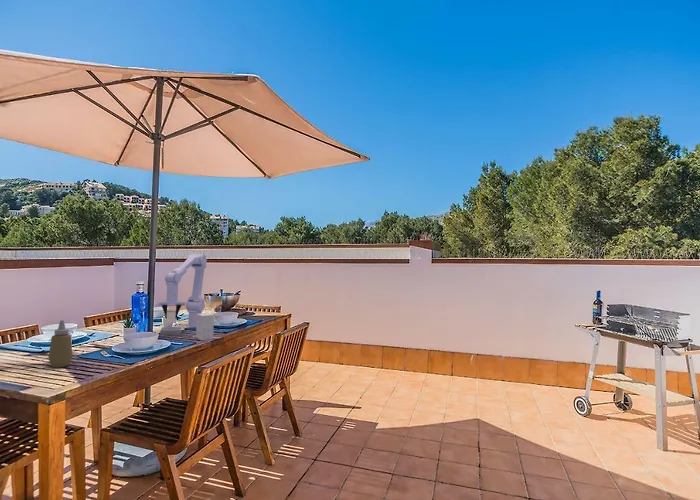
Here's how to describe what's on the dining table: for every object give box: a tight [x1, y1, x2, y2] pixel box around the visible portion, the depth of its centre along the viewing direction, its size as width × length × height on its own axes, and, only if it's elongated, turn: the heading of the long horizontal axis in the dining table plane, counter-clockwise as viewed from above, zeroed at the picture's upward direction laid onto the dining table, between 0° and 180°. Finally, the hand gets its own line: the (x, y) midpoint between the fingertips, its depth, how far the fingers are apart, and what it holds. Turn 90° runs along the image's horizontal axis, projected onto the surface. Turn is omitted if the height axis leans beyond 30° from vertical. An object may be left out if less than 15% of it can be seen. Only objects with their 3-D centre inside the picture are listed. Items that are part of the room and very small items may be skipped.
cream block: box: [165, 310, 177, 324], centre depth 250 cm, size 4×4×6 cm
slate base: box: [159, 326, 182, 336], centre depth 251 cm, size 10×10×2 cm
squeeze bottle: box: [48, 319, 73, 369], centre depth 178 cm, size 8×8×18 cm
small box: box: [195, 312, 215, 341], centre depth 240 cm, size 8×6×13 cm
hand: (171, 318), depth 251 cm, fingers closed on cream block, 4 cm apart
